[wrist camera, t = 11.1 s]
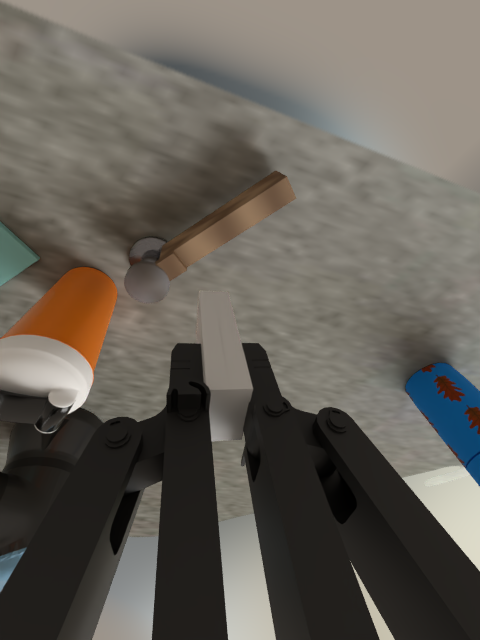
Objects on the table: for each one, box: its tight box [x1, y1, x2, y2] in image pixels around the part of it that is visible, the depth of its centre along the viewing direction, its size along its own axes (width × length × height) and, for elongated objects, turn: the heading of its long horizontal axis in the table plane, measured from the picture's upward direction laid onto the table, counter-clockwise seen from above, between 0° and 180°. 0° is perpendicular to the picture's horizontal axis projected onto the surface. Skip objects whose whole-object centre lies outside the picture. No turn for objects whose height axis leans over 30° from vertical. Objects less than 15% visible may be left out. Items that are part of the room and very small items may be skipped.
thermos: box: [406, 363, 480, 486], centre depth 51 cm, size 11×11×25 cm
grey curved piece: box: [129, 237, 167, 266], centre depth 35 cm, size 6×6×5 cm
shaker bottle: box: [0, 267, 117, 433], centre depth 31 cm, size 9×9×20 cm
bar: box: [124, 171, 296, 303], centre depth 32 cm, size 21×5×6 cm, turn 120°
